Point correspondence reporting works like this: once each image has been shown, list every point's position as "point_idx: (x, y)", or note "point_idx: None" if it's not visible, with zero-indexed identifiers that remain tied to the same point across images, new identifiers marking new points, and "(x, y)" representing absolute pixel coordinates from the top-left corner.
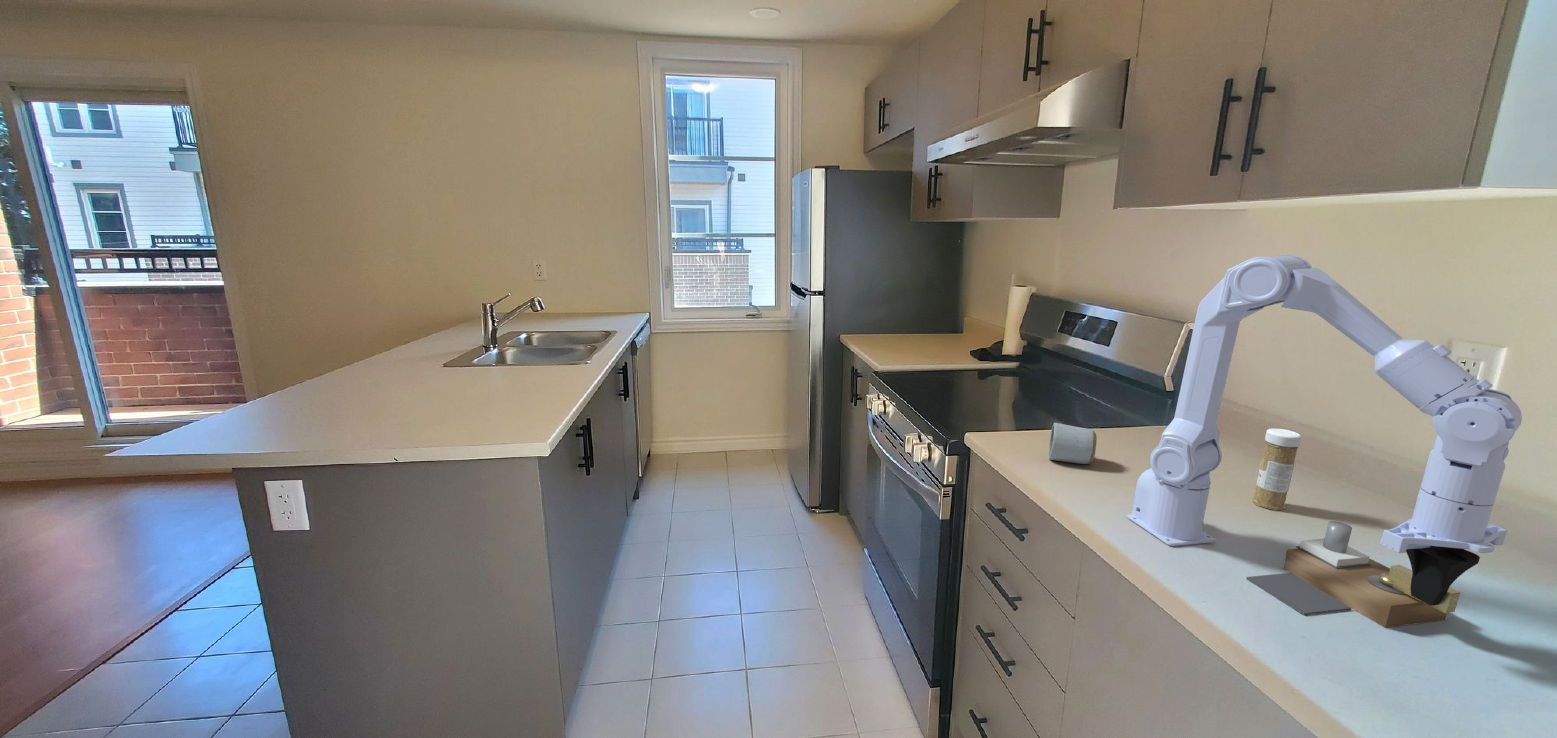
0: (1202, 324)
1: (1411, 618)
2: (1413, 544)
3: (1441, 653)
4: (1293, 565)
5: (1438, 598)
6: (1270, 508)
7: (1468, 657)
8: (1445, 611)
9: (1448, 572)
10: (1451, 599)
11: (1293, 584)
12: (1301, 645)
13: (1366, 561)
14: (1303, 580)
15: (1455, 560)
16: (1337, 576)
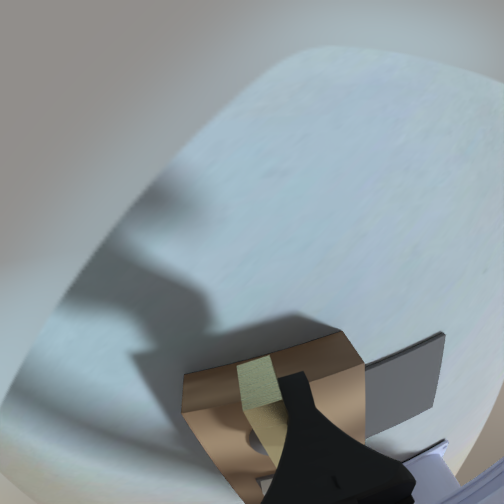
0: None
1: (282, 360)
2: (478, 489)
3: (304, 258)
4: None
5: (299, 386)
6: None
7: (253, 252)
8: (270, 359)
9: (363, 447)
10: (271, 386)
11: (385, 413)
12: (500, 247)
13: (265, 483)
14: None
15: (400, 485)
16: (364, 433)
